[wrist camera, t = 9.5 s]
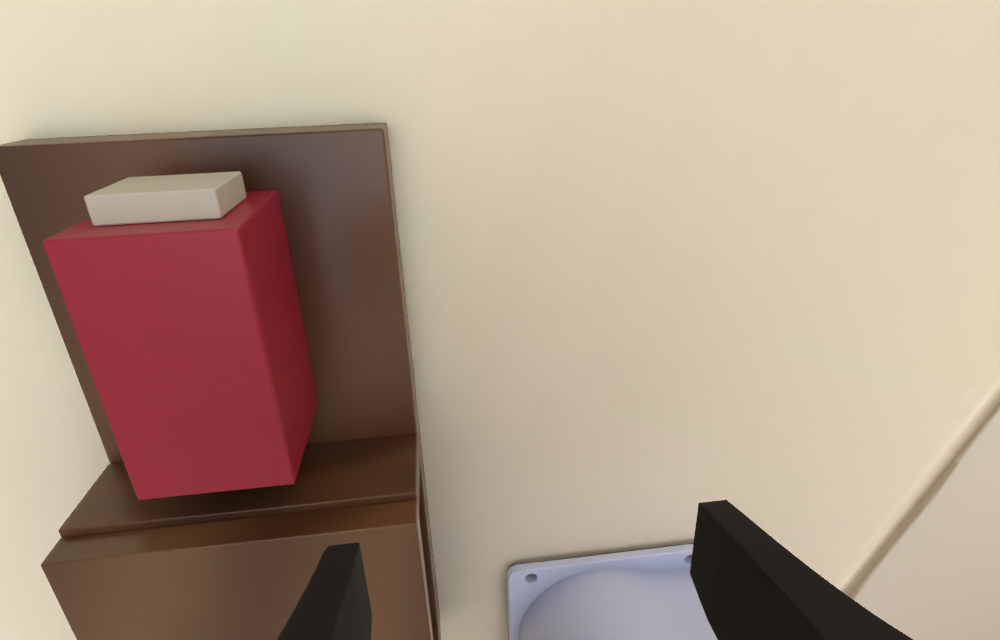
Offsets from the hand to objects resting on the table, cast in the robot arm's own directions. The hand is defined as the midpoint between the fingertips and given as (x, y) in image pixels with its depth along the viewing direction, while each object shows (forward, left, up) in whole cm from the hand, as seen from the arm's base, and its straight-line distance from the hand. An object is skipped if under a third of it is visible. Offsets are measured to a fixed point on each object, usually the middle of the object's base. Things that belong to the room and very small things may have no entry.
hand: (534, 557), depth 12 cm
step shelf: (+8, +3, -9) cm, 12 cm away
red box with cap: (+8, -3, -8) cm, 11 cm away
